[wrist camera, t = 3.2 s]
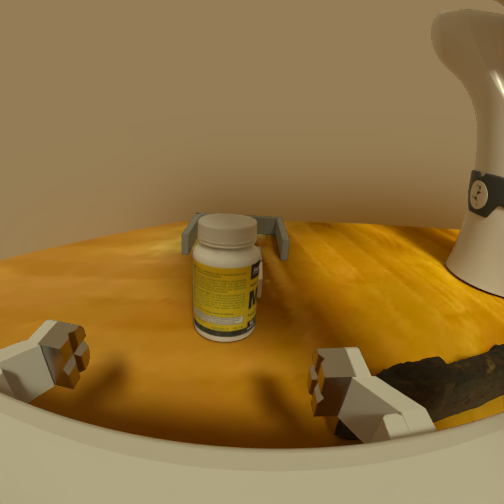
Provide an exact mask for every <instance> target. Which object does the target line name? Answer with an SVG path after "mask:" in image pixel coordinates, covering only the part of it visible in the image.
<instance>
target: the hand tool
mask: <svg viewBox="0 0 504 504" xmlns="http://www.w3.org/2000/svg"><path fill="white" fill-rule="evenodd" d="M376 377H378V378H379V379H381V380H382V381H384V382H385V383H387V384H388V385H390V386H391V387H393V388H394V389H396V390H398V391H399V392H401V393H402V394H404V395H405V396H407V397H408V398H410V399H412V400H413V401H415V402H416V403H418V404H419V405H421V406H423V407H424V408H426V410H427V412H428V414H429V416H430V418H431V420H432V422H433V423H434V422H436V421H438V420H441V419H444V418H446V417H449V416H452V415H454V414H458V413H461V412H463V411H466V410H469V409H473V408H477V407H479V406H481V405H483V404H485V403H486V402H488V401H490V400H492V399H495V398H497V397H499V396H501V395H504V344H501V345H494V346H493V347H492V348H491V349H490V350H489V351H488V352H486V353H483V354H480V355H477V356H473V357H470V358H467V359H463V360H460V361H457V362H453V363H450V364H446V363H445V362H444V360H443V359H441V358H440V357H432V358H425V359H422V360H420V361H415V362H408V361H407V362H406V363H404V364H402V363H399V364H396V365H393V366H392V367H390V368H389V369H383V370H382V372H381V373H380V374H377V375H376ZM335 435H337V436H339V437H340V438H342V437H343V438H346V439H359V438H358V437H357V436H356V435H355V434H354V433H353V432H352V431H351V430H350V429H349V428H348V427H347V426H346V425H345V424H344V423H343V422H342V421H341V420H339V422H338V424H337V427H336V430H335Z"/></svg>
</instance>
